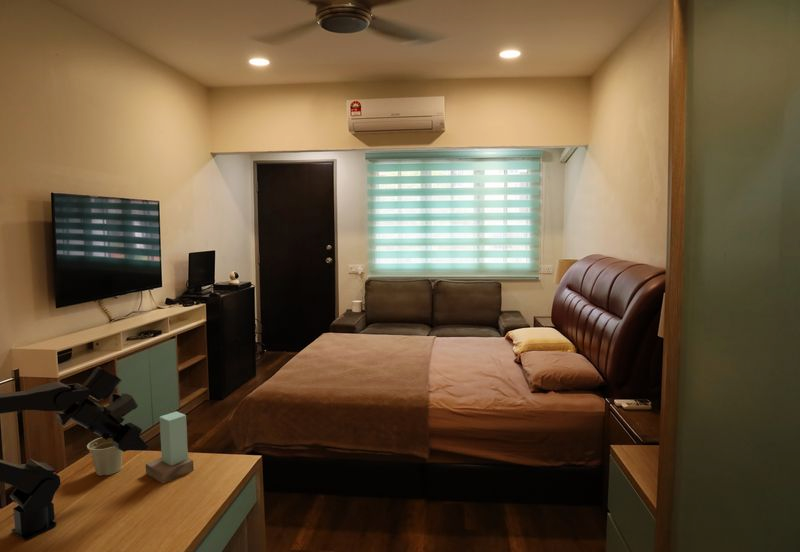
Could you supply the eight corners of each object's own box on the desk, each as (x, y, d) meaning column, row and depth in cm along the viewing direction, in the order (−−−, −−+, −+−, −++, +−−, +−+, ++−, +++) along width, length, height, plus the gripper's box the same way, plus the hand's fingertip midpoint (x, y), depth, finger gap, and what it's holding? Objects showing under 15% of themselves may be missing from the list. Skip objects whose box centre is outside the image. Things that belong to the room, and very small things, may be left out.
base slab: (162, 483, 132) (162, 473, 131) (146, 473, 137) (145, 463, 137) (193, 470, 139) (193, 460, 139) (176, 461, 144) (176, 451, 144)
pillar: (171, 465, 135) (168, 420, 134) (161, 460, 138) (159, 416, 137) (188, 458, 139) (185, 415, 138) (178, 454, 142) (176, 411, 141)
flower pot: (109, 481, 133) (107, 450, 132) (80, 477, 135) (78, 447, 134) (135, 464, 142) (133, 436, 141) (107, 461, 144) (105, 433, 143)
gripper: (132, 396, 119) (176, 425, 129) (99, 380, 130) (142, 408, 140) (98, 437, 113) (147, 465, 123) (67, 417, 124) (114, 444, 134)
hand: (138, 443), depth 130 cm, fingers open, 9 cm apart
